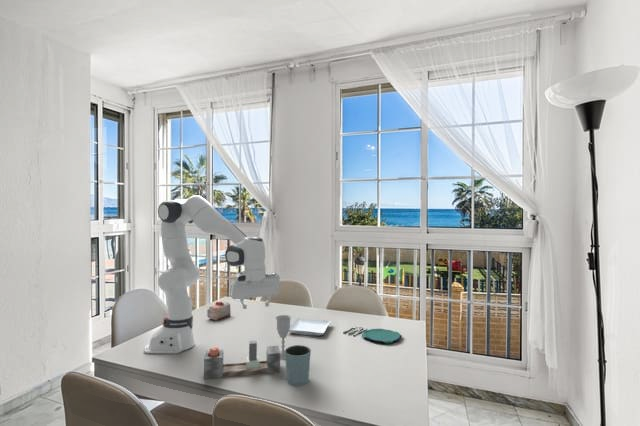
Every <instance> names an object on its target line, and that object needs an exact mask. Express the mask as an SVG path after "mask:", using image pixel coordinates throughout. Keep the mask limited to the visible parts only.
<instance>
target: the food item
mask: <svg viewBox="0 0 640 426" xmlns="http://www.w3.org/2000/svg"><path fill="white" fill-rule="evenodd" d="M206 312H207V315H206V316H207V318H209V319H211V320H213V321H218V320H220V319H224V318H227V317H230V316H231V314H232V313H231V312H232V311H231V303H230V302H228V301H223V302H222V301H219V302H218V301H215V304H214V305H211V306H209V307H208V309H207V311H206Z"/></svg>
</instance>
